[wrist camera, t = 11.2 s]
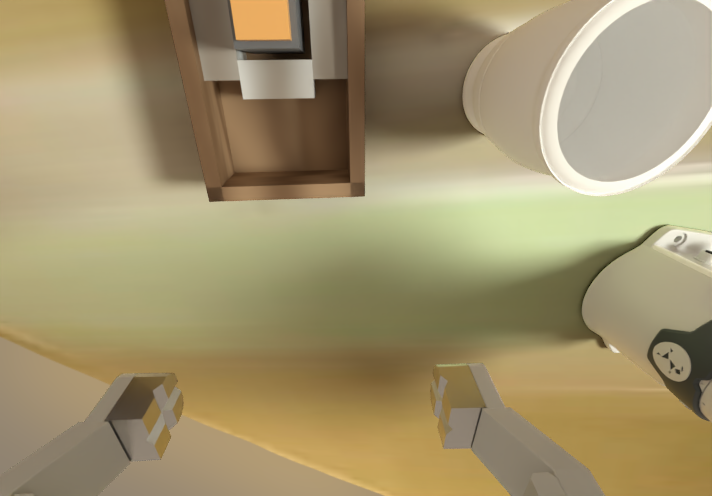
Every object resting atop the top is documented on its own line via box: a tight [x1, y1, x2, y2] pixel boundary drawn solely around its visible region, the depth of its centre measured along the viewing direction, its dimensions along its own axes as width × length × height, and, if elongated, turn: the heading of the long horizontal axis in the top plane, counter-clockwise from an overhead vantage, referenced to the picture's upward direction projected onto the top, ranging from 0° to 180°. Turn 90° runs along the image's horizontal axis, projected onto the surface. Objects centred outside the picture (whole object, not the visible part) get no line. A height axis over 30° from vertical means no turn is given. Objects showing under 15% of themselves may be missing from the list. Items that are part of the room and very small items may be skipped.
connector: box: [227, 0, 305, 54], centre depth 23 cm, size 4×4×8 cm
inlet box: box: [164, 0, 365, 202], centre depth 26 cm, size 13×20×6 cm, turn 1°
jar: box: [462, 0, 712, 196], centre depth 24 cm, size 11×10×15 cm
